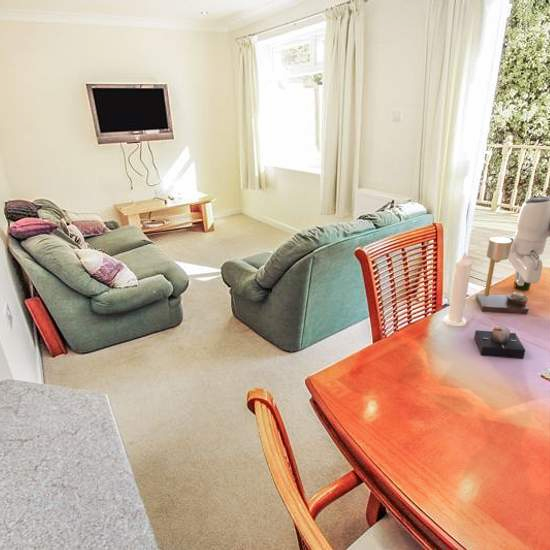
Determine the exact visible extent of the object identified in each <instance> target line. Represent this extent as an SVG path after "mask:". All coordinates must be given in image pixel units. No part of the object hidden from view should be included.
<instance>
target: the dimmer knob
mask: <svg viewBox="0 0 550 550" xmlns="http://www.w3.org/2000/svg"><path fill="white" fill-rule="evenodd" d="M491 331H492V335H491V339H492V340H493V341H494V342H496V343H500V344H505V343H507V342H508V339H509V335H510V333H511V330H510V329H509V327H507V326H503V325H494V326H493V327H492V329H491Z"/></svg>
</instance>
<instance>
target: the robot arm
mask: <svg viewBox="0 0 550 550" xmlns="http://www.w3.org/2000/svg"><path fill="white" fill-rule="evenodd" d="M516 226H517V228H516V232H515V233H514V235H513V236H510V237H509V239H510V240H512V242H511V247H510V252H509V257H508V259H507V260H508V262H509V263H510V264H511V266H512V267H513V268H514V269H515V276H516V280H515V279H514V281H515V282H516V283H517V284H518V285H519V286H523V285H524V282H526V283H531V284H538V283H540V280H541V276H542V271H543V261H542V259H540V255H543V254H544V250H545V247H546V243H547V239H548V238H550V196H546V195H545V196H544V195H541V196H540V195H539V196H533V197H530V198H528V199H526V200H525V201H524V202H523V203H522V206H521V208H520V211H519V214H518V217H517V222H516Z"/></svg>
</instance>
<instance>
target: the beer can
mask: <svg viewBox="0 0 550 550" xmlns="http://www.w3.org/2000/svg"><path fill="white" fill-rule="evenodd" d="M515 280H516V275H515V276H514V282H513V287H512V288H513V289H514V291H516V290H517V291H516V292H521V293H527V292H529V291H530V290H531V285H532V283H526V282H524V285H523V286H519V285H518V284H517V283H516V282H515Z"/></svg>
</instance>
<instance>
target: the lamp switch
mask: <svg viewBox="0 0 550 550" xmlns="http://www.w3.org/2000/svg"><path fill="white" fill-rule="evenodd" d="M512 293H513V296H512V298H514V299H517V300H522V298H523V295H524V292H519V291H514V292H512Z"/></svg>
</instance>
